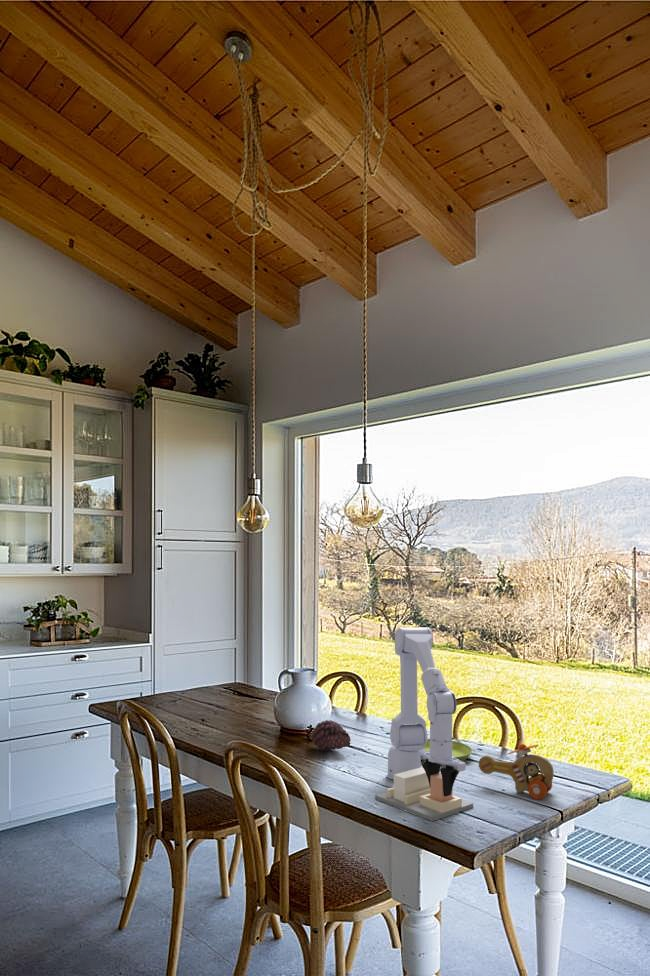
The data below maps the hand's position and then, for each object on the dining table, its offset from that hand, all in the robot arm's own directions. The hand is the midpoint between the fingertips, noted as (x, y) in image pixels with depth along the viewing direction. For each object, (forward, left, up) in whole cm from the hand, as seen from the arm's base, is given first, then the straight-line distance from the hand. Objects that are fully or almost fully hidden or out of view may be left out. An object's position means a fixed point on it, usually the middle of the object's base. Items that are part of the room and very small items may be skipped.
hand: (440, 793), depth 193 cm
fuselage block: (-9, 0, -3) cm, 10 cm away
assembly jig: (-6, 0, -4) cm, 7 cm away
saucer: (-32, +36, -5) cm, 48 cm away
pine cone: (-57, +11, -4) cm, 58 cm away
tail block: (0, 0, -2) cm, 2 cm away
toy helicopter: (+4, +28, -4) cm, 29 cm away
